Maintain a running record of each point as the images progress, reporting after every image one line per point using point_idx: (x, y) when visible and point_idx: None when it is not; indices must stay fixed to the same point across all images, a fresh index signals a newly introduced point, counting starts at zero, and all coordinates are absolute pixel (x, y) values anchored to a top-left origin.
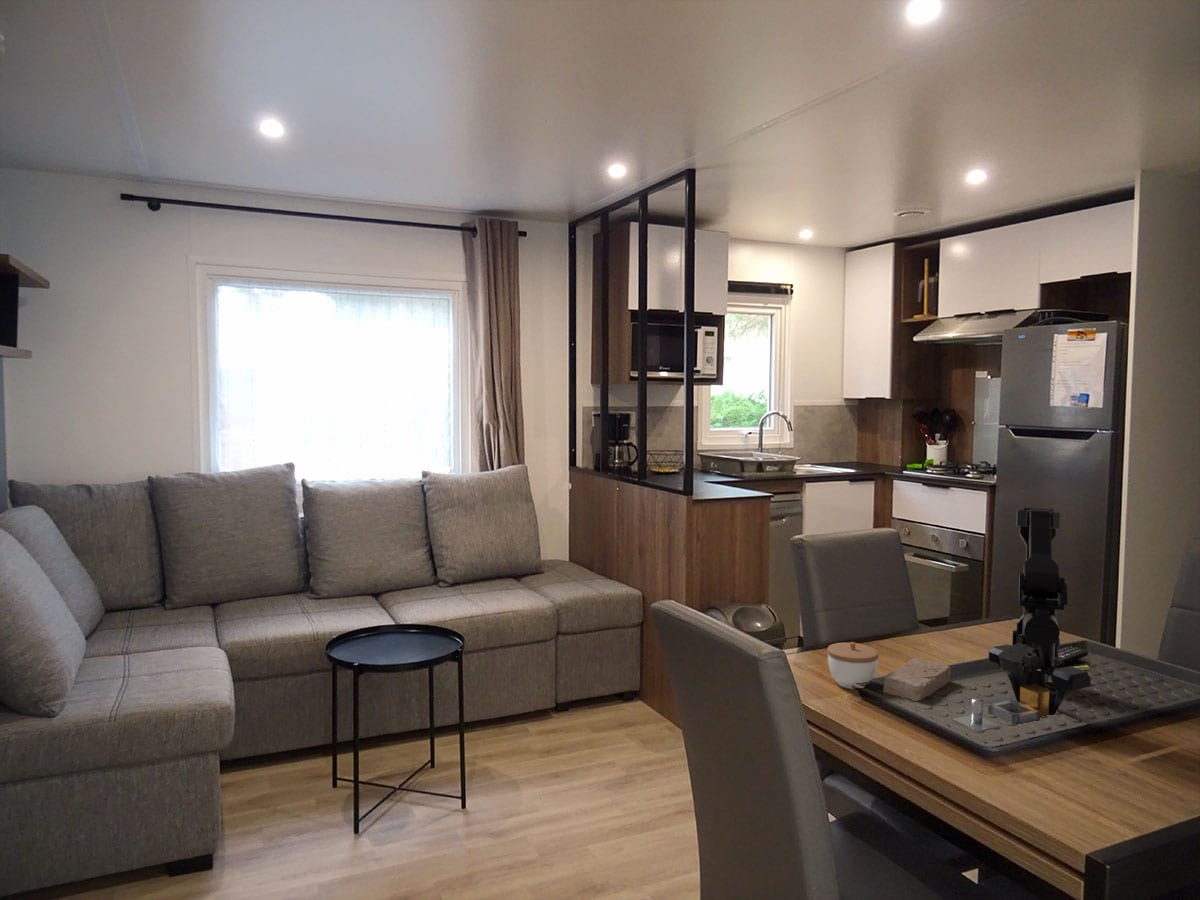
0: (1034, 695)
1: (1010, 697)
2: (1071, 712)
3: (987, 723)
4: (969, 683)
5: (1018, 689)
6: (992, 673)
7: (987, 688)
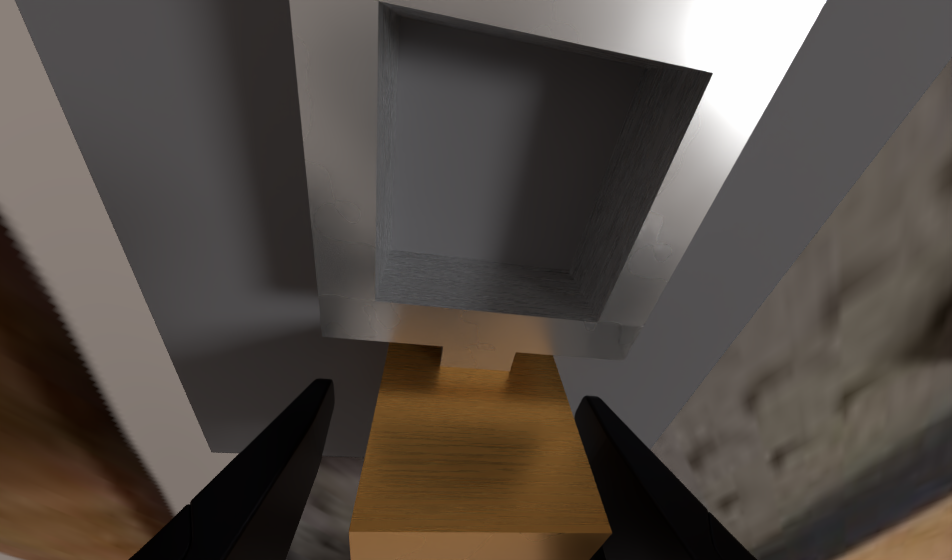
0: (409, 485)
1: (658, 428)
2: None
3: None
4: (875, 425)
5: (629, 490)
6: (778, 529)
7: (782, 438)
